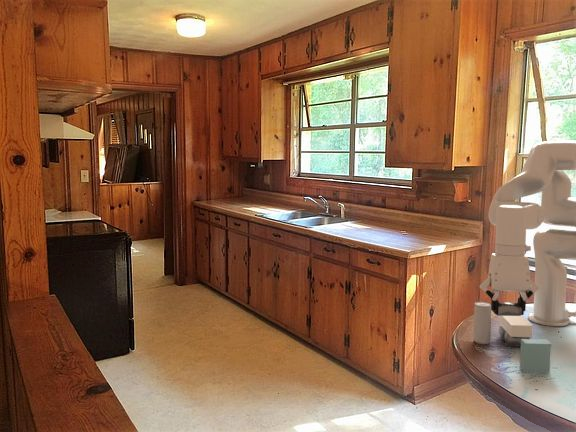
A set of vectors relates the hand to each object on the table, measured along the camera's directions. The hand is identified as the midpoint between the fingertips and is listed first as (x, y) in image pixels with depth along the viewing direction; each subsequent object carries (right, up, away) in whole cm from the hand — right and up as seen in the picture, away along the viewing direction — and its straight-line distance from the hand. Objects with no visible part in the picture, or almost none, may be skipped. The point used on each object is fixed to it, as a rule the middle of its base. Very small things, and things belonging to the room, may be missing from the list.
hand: (507, 312), depth 135 cm
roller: (0, -1, 0) cm, 1 cm away
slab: (+8, -8, +12) cm, 16 cm away
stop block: (+4, -14, -6) cm, 16 cm away
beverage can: (-2, -12, +14) cm, 18 cm away
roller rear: (+8, -11, +16) cm, 21 cm away
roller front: (+7, -12, +10) cm, 17 cm away
